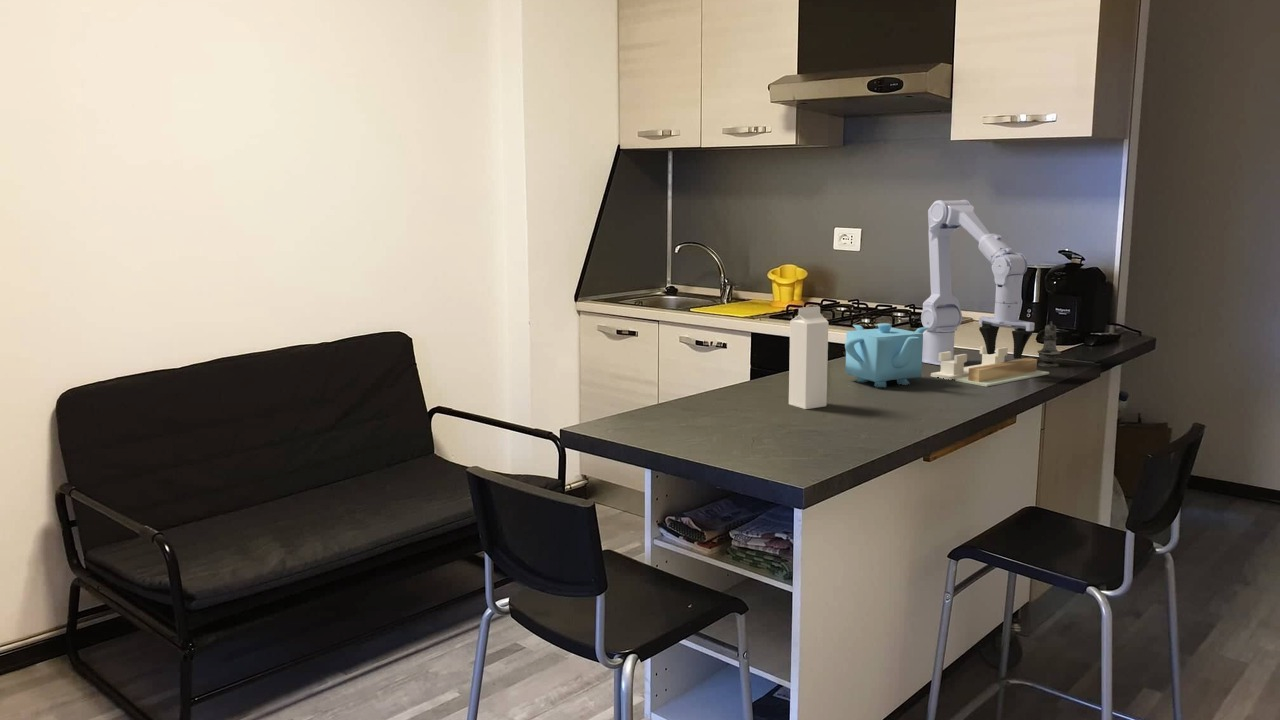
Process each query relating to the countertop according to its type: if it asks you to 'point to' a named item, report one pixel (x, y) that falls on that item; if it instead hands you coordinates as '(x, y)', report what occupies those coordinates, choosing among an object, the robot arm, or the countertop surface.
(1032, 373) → the sage mat
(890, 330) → the teakettle
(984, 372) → the oak bar
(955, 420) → the countertop surface
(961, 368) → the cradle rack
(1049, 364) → the grey chess piece
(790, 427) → the countertop surface
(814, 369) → the milk
